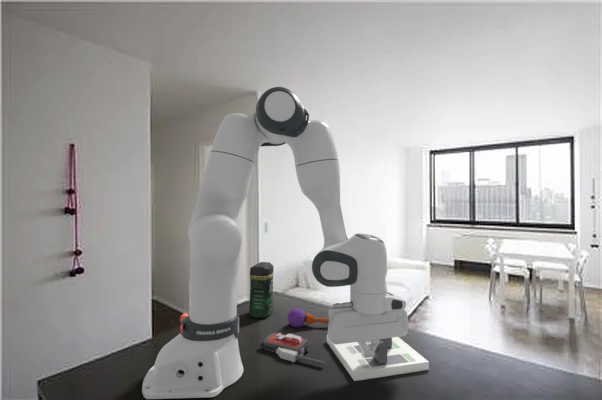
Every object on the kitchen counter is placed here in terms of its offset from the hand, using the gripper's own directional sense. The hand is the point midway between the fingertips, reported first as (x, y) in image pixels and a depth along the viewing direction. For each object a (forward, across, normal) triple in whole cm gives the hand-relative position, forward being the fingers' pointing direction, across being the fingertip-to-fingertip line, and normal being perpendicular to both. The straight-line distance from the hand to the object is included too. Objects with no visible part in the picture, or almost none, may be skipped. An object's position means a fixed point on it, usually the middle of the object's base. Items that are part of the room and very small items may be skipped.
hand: (368, 356), depth 77 cm
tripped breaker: (+1, +3, 0) cm, 3 cm away
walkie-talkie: (+4, -16, +13) cm, 21 cm away
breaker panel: (+4, +5, +7) cm, 9 cm away
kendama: (+4, -4, +28) cm, 29 cm away
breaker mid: (+2, +9, +7) cm, 11 cm away
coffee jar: (+4, -21, +43) cm, 48 cm away
